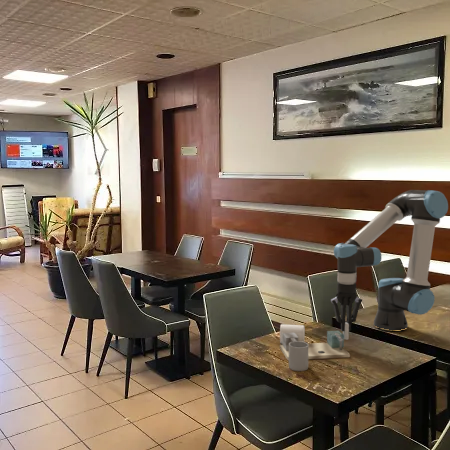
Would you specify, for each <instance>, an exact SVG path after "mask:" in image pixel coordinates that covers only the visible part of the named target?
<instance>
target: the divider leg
mask: <svg viewBox="0 0 450 450" xmlns="http://www.w3.org/2000/svg"><path fill="white" fill-rule="evenodd" d="M326 338H327V339H326V340H327V341H326V343H328V344H329V345H330V346H331V347H332V348H337V347H340V350H342V347H343V348H345V339H344V335H343V332H341V330H327V331H326Z"/></svg>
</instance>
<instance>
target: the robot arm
mask: <svg viewBox="0 0 450 450" xmlns="http://www.w3.org/2000/svg"><path fill="white" fill-rule="evenodd" d="M448 210H449V202H448V199H447V198H446V196H445V194H444V193H443V192H442V191H438V190H430V189H427V190H425V189H423V190H422V189H421V190H420V189H409V190H406V191H404V192H402V193H400V194H399V195H397V196H395V197H394V198H393V199H391V200H390V201H389V202H388V203H387V204H386V205H385V207H384V209H383V210H382V211H381V212H380V213H378V214H377V215H376V216H375V217H374V218H372V219H371V220H370V221H369V222H368V223H367V224H365V225H364V226H363V227H362V228H361V229H359V230H358V231H357V232H356V233H355V234H354V235H353V236H352V237H350V238H349V239H348V240H347V241H345V243H344V242H341V243H337V244H336V245H335V246H334V249H333V255H334V257H335V258H336V259H337V279H336V281H337V283H336V286H337V287H336V295H335V297H333V298H331V299H330V302H331V304H332V306H333V311H334V316H335V320H336V321H337V322H338V323H339V324H340V331H342V334H343V335H344V341H345V340H348V341H349V333H350V332H351V331H352V324H353V323H355V322H356V321H357V316H358V314H359V309H360V306H361V304H362V302H363V299H362V298H361V297H358V295H357V268H361V267H363V268H364V267H373V266H378V265H379V264H380V263H381V261H382V253H381V250H380V249H379V248H378V247H371V246H370V245H371V244H372V243H373V242H374V241H375V240H377V239H378V238H379V237H380V236H381V235H382V234H383V233H385V232H386V231H387V230H388V229H389V228H391V227H392V226H393V225H394V224H395V223H396V222H398V221H399V222H400V221H402V220H403V219H404V218H406V217H410V216H411V219H410V220H411V221H412V223H413V229H412V238H411V244H410V251H409V258H408V264H407V272H406V277H405V278H400V277H389V278H388V277H387V278H381V279H380V280H379V282H378V286H377V311H376V314H375V316H374V319H373V326H374V325H375V326H377V327H379V328H384V329H389V330H401V329H405V328H407V327H408V326H409V323H408V320H407V317H406V314H405V311H406V312H409V313H410V314H415V315H420V316H422V315H425V314H427V313H428V312H429V311H430V310H431V309H432V308H433V307H434V303H435V299H436V298H435V294H434V292H433V291H432V290H431V283H430V282H429V281H428V277H429V271H430V270H429V269H430V264H431V258H432V251H433V244H434V243H433V242H434V238H435V236H434V235H435V229H436V226H437V225H439V224H440V223H441V219H442V218H444V217H445V215H446V214H447V213H448ZM369 246H370V247H369ZM338 302H339V304H340V309H339V306H338ZM353 303H354V306H353Z"/></svg>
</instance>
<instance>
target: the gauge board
mask: <svg viewBox="0 0 450 450" xmlns="http://www.w3.org/2000/svg"><path fill="white" fill-rule="evenodd" d="M293 341H298V336H297V335H296V334H295V333H283V343H282V344H279V349H280V351H281V352H282V355H284V357H285V359H287V361H289V343H290V342H293ZM307 344H308V360H319V359H320V360H321V359H337V358H338V359H339V358H350V357H351V354H350V352H349V351H348V350H346V349H345V347H342V350H340V347H337V348H332V347H331V346H330V345H329V344H328V343H327V342H312V343H307Z"/></svg>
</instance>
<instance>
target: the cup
mask: <svg viewBox="0 0 450 450" xmlns="http://www.w3.org/2000/svg"><path fill="white" fill-rule="evenodd" d="M308 344H309V343H308V342H306V341H304V342H302V341H293V342H290V343H289V360H288V368H289V369H290V370H292V371H294V372H304V371H307V370H308V369H309V359H308Z"/></svg>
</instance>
